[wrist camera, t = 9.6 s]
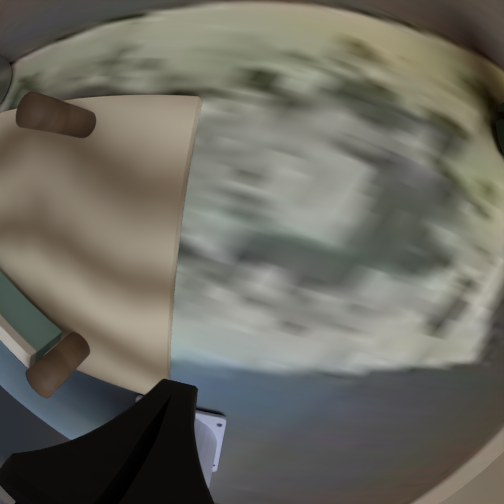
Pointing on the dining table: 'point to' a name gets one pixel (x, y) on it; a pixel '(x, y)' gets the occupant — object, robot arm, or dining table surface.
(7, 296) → the gate
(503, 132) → the character mug
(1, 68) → the plastic bottle
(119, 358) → the gate frame
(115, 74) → the dining table surface
